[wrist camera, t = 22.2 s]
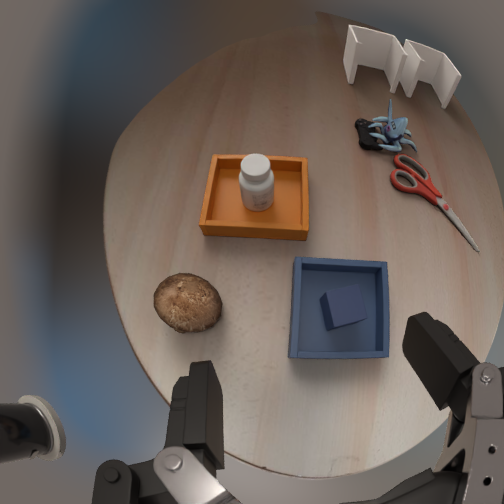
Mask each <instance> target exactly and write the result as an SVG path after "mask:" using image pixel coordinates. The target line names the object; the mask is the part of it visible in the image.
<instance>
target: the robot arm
mask: <svg viewBox="0 0 504 504" xmlns="http://www.w3.org/2000/svg"><path fill="white" fill-rule="evenodd" d="M402 348H403V353H404V355H405V357H406V359H407V360H408V362H409V363H410V365H411V366H412V368H413V369H414V371H415V372H416V374H417V375H418V377H419V378H420V380H421V381H422V383H423V385H424V386H425V388H426V389H427V391H428V392H429V394H430V396H431V397H432V399H433V400H434V402H435V404H436V405H437V407H438V409H439V410H440V411H441V410H442V409H444V408H446V407H448V406H449V407H450V409H451V410H450V412H449V417H448V424H447V430H446V435H445V440H444V445H443V450H442V453H441V455H440V457H439V459H438V461H437V463H436V465H435V468H434V471H433V472H432V470H431V468H429V469H427V470H425V471H423V472H421V473H419V474H417V475H415V476H413V477H411V478H408V479H406V480H404V481H403V482H402V483H400V484H399V485H397V486H396V487H394V488H393V489H391V490H390V491H389V492H387V493H386V494H384V495H383V496H381V497H380V498H377V499H374V500H367V501H358V502H348V503H341V504H504V367H501V368H497V367H496V366H495V365H493V364H491V363H487V362H484V363H480V362H479V361H478V360H477V359H476V357H475V356H474V355H473V354H472V353H471V352H470V350H469V349H468V348H467V347H466V346H465V345H464V344H463V342H462V341H461V340H459V338H458V337H457V336H456V335H455V334H454V332H453V331H452V330H451V329H450V328H449V327H448V326H447V325H446V324H444V323H442V322H440V321H439V320H434V319H433V318H432V317H431V316H430V315H429V314H428V313H427V312H422V313H419V314H416V315H413V316H410V317H409V318H408V321H407V326H406V330H405V335H404V339H403V344H402ZM170 409H171V410H170V412H169V419H168V426H167V434H166V442H165V446H164V448H163V450H162V451H160V452H159V453H158V454H157V456H156V457H155V458H154V459H152V460H149V461H146V462H141V463H137V464H132V465H126V464H125V463H124V462H122V461H119V460H109V461H106V462H104V463H103V464H101V465H100V466H99V468H98V470H97V472H96V477H95V484H94V491H93V498H92V504H242V503H241V502H240V501H239V500H237V499H236V498H235V497H234V496H233V495H232V494H231V493H230V492H228V491H227V490H226V489H225V488H224V487H223V486H222V485H221V484H220V483H219V482H218V481H217V480H216V470H220V469H224V436H223V395H222V389H221V385H220V382H219V380H218V377H217V374H216V372H215V369H214V366H213V364H212V362H211V360H208V361H199V362H192V363H191V364H190V371H189V376H184V377H180V378H179V379H178V381H177V382H176V384H175V385H174V387H173V392H172V401H171V405H170ZM53 447H54V436H53V432H52V428H51V426H50V423H49V421H48V419H47V418H46V416H45V414H44V413H43V412H42V410H41V409H40V408H39V407H37V406H36V405H35V404H33V403H16V404H12V403H10V404H0V464H4V463H9V462H14V461H18V460H23V459H27V458H30V459H34V458H35V457H36V456H39V455H46V454H49V453H50V452H51V451H52V450H53Z"/></svg>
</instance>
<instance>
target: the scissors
mask: <svg viewBox="0 0 504 504" xmlns="http://www.w3.org/2000/svg"><path fill="white" fill-rule="evenodd" d="M399 159H402V160H405V161H407V162H409V163H410V164H412V165H413V166H415V167H416V168H417V169H418V170H419V171H420V172H421V173H422V174H423V175H424V177H425V179H423V178H422V177H421V176H420V175H419V174H418V173H416V172H415V171H414V170H413V169H411V168H410V167H408V166H407V165H405V164H403V163H401V162H400V160H399ZM394 163H395V165H396V166H397V167H398V168H400V169H395V170H394V171H392V173H391V176H390V179H391V182H392V184H393V185H394V186H395V187H396V188H397V189H399V190H401V191H404V192H409V193H417V194H420V195H422V196H423V197H425V198H426V199H427V200H428V201H430V202H431V203H432V204H434V205H437V204H438V206H439V207H440V208H441V210H442V211H443V212H444V213H445V214H446V215H447V216H448V218H449V219H450V220H451V221H452V222H453V223H454V225H455V226H456V227H457V228H458V229H459V230H460V232H461V233H462V234H463V235H464V237H465V238H466V239H467V240H468V242H469V243H470V244H471V245H472V246H473V248H474V249H475V250H476V251H478V252H480V250H479V248H478V247H477V245H476V243H475V242H474V240H473V238H472V237H471V235H470V234H469V232H468V231H467V229H466V228H465V227H464V225H463V224H462V222H461V221H460V220H459V218H458V217H457V216H456V215H455V213H454V212H453V211H452V209H451V208H450V207H449V206H448V205H447V203H446V202H445V201H444V200H442V199H441V198H442V195H441V194H440V193H439V191H438V190H437V189H436V188H435V187H434V185H433V184H432V181H431V178H430V175H429V173H428V171H427V170H426V169H425V168H424V167H423V166H422V165H421V164H420V163H418V162H417V161H416V160H414V159H413V158H411V157H410V156H408V155H405V154H397V155H396V156H395V157H394ZM396 175H401V176H403V177H405V178H407V179H408V180H409V181H410V182H411V183H412V184H413V186H414V187H409V186H405V185H402V184H401V183H399V182H398V181H397V179H396Z"/></svg>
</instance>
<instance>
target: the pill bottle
mask: <svg viewBox="0 0 504 504" xmlns="http://www.w3.org/2000/svg"><path fill="white" fill-rule="evenodd" d="M239 185H240V191H241V197H242V202H243V204H244V206H245V207H246V208H247V209H249V210H251V211H255V212H260V211H264V210H266V209H268V208H269V207H270V206H271V205H272V203H273V200H274V174H273V172H272V170H271V169H270V161H269V159H268V158H267V157H266V156H264V155H262V154H250V155H248V156H246V157H245V158H244V159H243V160H242V162H241V172H240V174H239Z"/></svg>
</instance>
